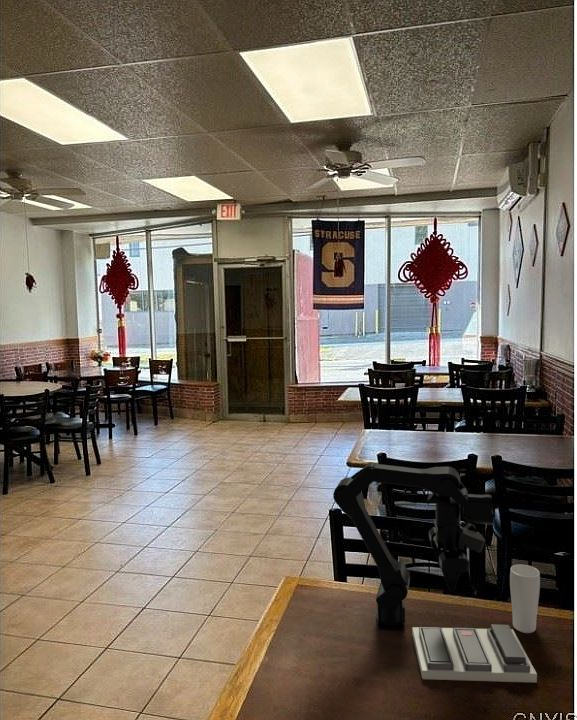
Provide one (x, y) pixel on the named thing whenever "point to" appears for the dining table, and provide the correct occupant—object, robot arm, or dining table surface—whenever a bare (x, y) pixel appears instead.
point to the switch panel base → (471, 671)
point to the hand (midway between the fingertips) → (447, 581)
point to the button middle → (471, 646)
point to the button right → (508, 644)
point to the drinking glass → (524, 596)
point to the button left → (435, 645)
